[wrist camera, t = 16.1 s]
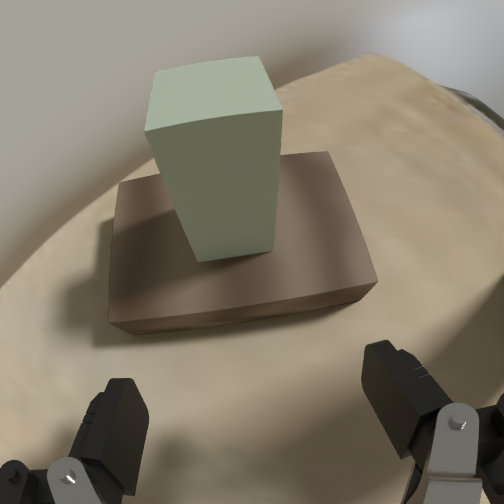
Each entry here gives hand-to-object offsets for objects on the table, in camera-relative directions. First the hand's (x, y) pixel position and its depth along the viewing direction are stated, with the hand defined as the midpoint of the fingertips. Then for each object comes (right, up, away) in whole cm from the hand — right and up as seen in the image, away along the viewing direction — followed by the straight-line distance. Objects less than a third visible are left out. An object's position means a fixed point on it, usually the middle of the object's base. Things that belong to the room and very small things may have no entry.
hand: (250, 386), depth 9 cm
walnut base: (-1, +5, +15) cm, 16 cm away
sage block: (-1, +6, +11) cm, 13 cm away
